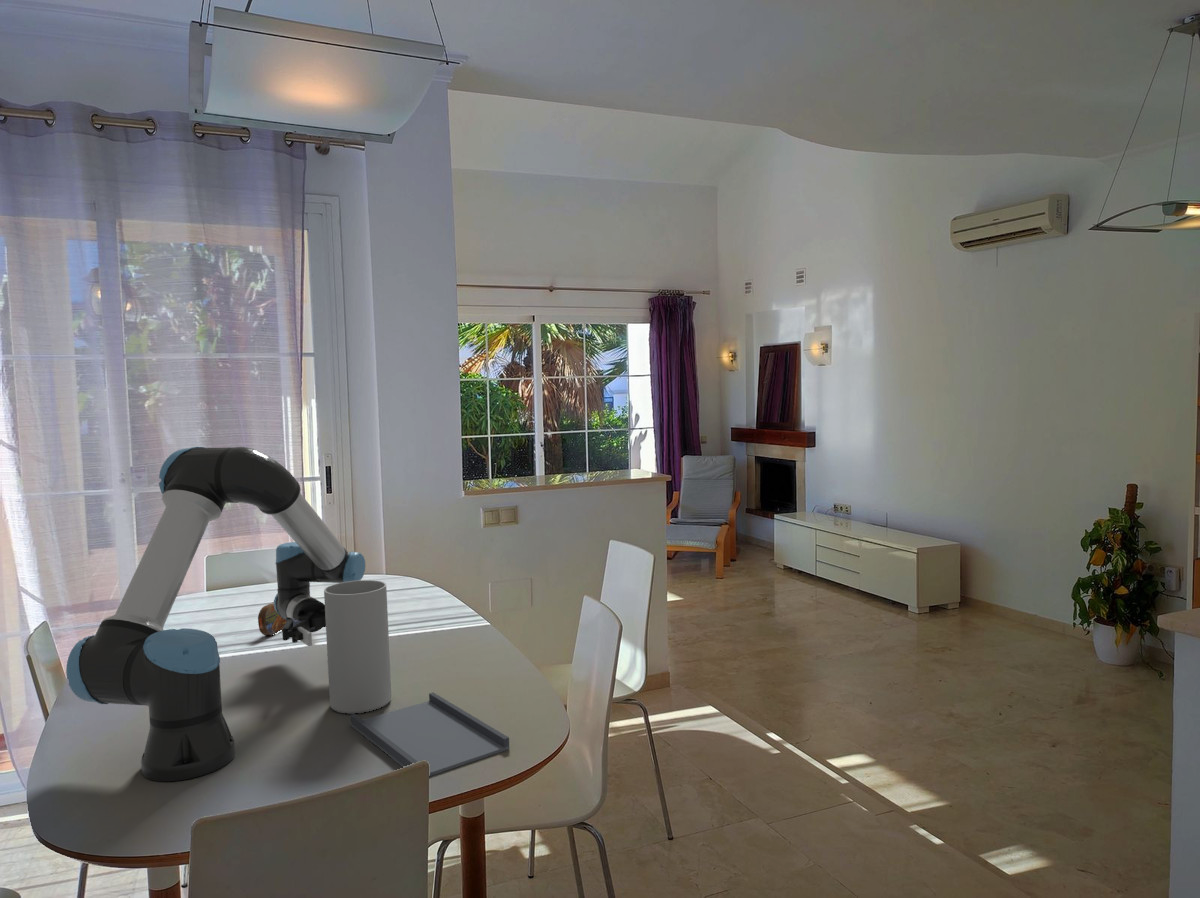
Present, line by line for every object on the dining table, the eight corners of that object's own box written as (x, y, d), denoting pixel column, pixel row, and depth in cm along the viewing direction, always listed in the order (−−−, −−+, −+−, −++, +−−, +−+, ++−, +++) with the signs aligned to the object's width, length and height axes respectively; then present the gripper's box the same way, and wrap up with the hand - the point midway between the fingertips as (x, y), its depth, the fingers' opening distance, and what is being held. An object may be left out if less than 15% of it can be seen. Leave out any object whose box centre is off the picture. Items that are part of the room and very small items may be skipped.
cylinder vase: (368, 688, 185) (363, 577, 183) (403, 700, 177) (398, 585, 175) (318, 706, 175) (311, 589, 173) (353, 720, 167) (346, 597, 165)
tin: (267, 639, 224) (265, 608, 223) (256, 639, 224) (254, 608, 224) (298, 623, 238) (296, 594, 238) (288, 623, 239) (286, 594, 238)
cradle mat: (509, 749, 152) (508, 737, 152) (418, 780, 141) (417, 767, 141) (433, 702, 175) (433, 692, 175) (350, 725, 164) (350, 714, 164)
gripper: (359, 618, 207) (395, 638, 190) (254, 640, 192) (284, 662, 175) (357, 589, 207) (393, 605, 190) (252, 608, 191) (282, 627, 175)
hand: (341, 633), depth 182 cm, fingers open, 13 cm apart
